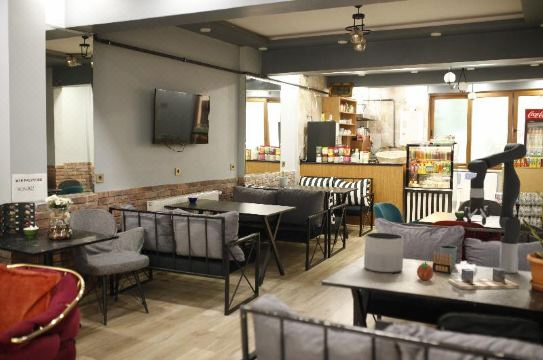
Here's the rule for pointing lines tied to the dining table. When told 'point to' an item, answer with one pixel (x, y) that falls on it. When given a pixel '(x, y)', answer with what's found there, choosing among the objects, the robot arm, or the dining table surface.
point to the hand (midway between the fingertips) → (476, 225)
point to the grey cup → (449, 250)
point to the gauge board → (486, 282)
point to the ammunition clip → (442, 263)
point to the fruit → (425, 271)
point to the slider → (467, 275)
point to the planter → (383, 252)
